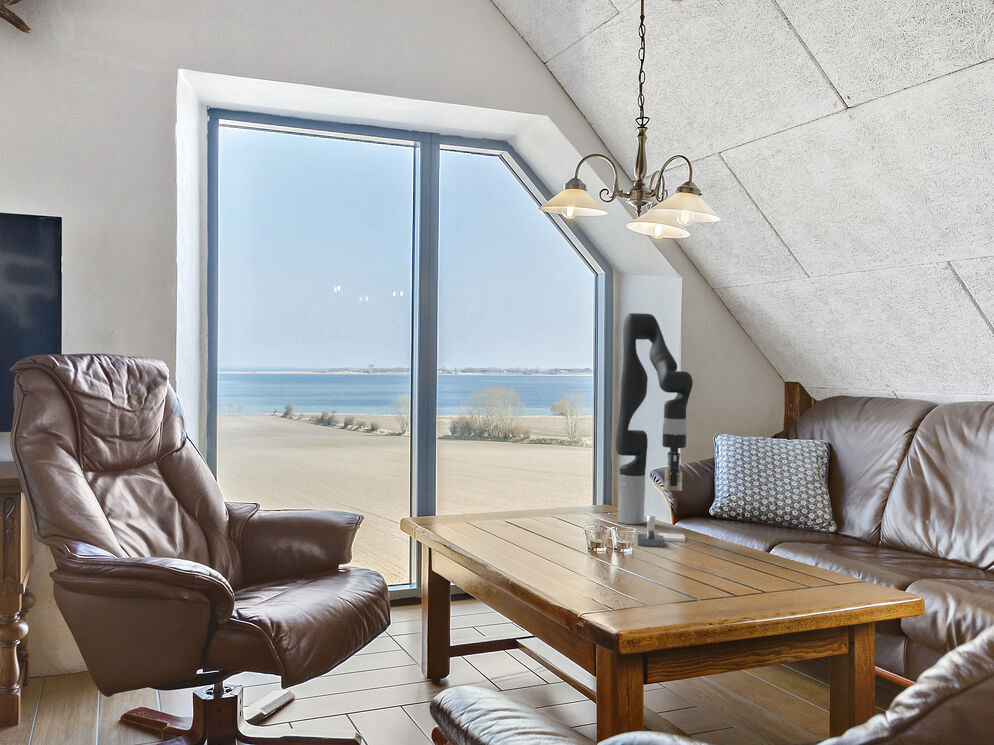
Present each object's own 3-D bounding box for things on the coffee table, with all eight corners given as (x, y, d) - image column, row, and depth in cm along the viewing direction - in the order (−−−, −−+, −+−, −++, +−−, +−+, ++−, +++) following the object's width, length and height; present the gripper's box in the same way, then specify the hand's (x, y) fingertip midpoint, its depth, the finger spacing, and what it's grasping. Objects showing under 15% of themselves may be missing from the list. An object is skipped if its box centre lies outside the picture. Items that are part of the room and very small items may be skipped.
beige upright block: (664, 487, 270) (665, 469, 270) (680, 488, 269) (681, 470, 269) (665, 489, 265) (665, 471, 265) (681, 490, 264) (682, 471, 264)
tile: (658, 535, 272) (658, 532, 272) (683, 537, 270) (683, 534, 270) (659, 540, 264) (659, 537, 264) (685, 542, 262) (685, 538, 262)
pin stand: (637, 540, 263) (638, 513, 263) (662, 541, 262) (663, 515, 262) (637, 545, 255) (638, 517, 255) (663, 546, 254) (664, 519, 254)
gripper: (661, 430, 275) (660, 481, 275) (663, 433, 261) (662, 487, 261) (684, 431, 274) (683, 482, 274) (687, 434, 260) (686, 488, 259)
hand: (673, 484), depth 267 cm, fingers closed on beige upright block, 5 cm apart
